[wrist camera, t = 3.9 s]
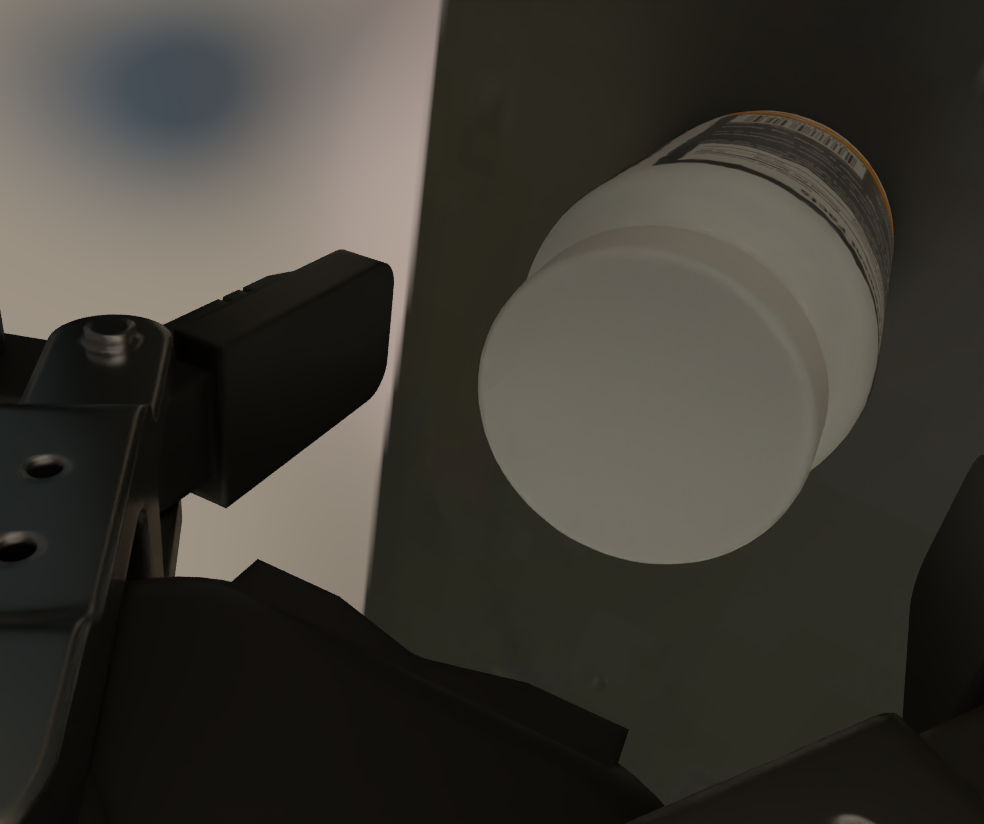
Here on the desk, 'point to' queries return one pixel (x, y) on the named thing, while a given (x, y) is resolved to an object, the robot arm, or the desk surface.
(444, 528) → the desk surface
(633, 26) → the desk surface
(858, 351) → the pill bottle
